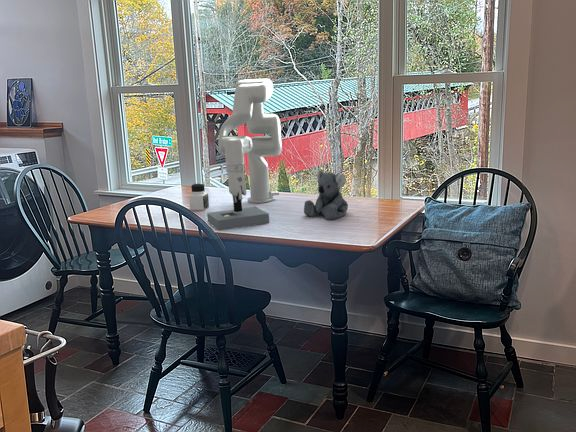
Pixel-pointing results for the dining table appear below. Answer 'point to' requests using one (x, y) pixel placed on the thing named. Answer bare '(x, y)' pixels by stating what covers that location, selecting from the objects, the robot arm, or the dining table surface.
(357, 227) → the dining table surface
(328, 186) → the koala plush
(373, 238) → the dining table surface
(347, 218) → the dining table surface
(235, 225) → the grey flat block
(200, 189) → the medicine bottle
